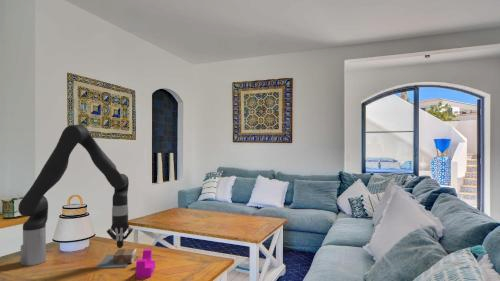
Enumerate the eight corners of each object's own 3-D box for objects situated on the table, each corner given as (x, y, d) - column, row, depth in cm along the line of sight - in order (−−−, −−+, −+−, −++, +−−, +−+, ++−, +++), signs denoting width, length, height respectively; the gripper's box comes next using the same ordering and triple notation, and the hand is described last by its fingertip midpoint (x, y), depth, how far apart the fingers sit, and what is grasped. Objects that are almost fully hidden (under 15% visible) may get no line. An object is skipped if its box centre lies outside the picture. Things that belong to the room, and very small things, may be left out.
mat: (95, 269, 140) (95, 267, 140) (107, 256, 156) (107, 254, 156) (125, 267, 142) (125, 266, 142) (134, 254, 158) (134, 253, 158)
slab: (113, 255, 145) (132, 254, 146) (118, 249, 153) (136, 248, 154) (113, 263, 145) (132, 262, 146) (118, 257, 153) (136, 256, 154)
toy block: (150, 277, 132) (150, 261, 132) (136, 278, 131) (136, 261, 131) (156, 263, 147) (156, 248, 147) (143, 264, 146) (143, 249, 146)
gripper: (103, 215, 145) (103, 250, 145) (131, 214, 146) (131, 249, 146) (109, 212, 152) (109, 245, 152) (135, 211, 154) (135, 244, 154)
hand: (120, 247), depth 149 cm, fingers closed
